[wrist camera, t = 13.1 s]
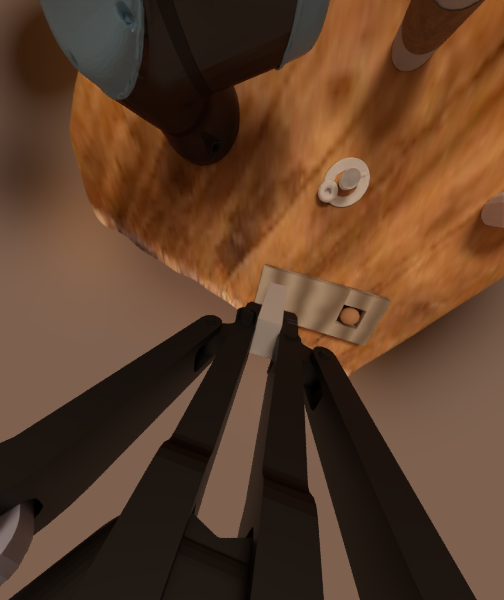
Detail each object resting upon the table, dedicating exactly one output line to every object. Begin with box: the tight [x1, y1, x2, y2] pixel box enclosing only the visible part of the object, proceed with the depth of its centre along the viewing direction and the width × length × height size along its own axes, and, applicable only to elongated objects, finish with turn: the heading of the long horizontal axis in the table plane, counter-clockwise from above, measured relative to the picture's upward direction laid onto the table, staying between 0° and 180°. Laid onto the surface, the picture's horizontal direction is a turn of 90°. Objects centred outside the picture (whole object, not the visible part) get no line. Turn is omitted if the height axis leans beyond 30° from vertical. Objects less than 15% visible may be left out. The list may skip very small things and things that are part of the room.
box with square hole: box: [255, 264, 391, 346], centre depth 44 cm, size 28×12×2 cm, turn 77°
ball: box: [340, 307, 360, 325], centre depth 42 cm, size 4×4×4 cm
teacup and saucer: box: [318, 157, 370, 207], centre depth 33 cm, size 9×8×4 cm
